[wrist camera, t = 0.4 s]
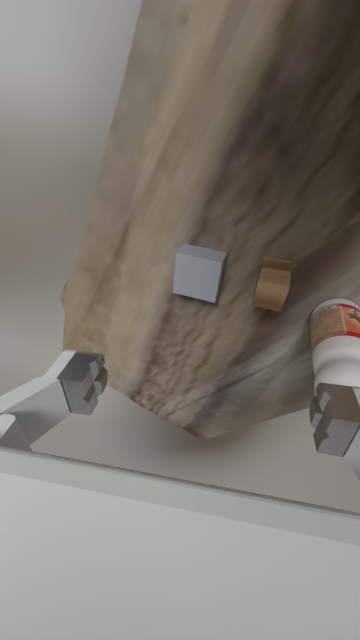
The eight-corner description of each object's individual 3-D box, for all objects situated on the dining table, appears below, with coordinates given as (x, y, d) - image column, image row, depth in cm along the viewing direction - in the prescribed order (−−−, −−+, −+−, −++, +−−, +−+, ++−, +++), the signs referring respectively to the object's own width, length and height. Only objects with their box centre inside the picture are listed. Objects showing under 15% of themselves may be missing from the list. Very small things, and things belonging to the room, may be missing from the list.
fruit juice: (312, 295, 58) (318, 411, 36) (368, 297, 54) (411, 425, 33) (308, 334, 63) (311, 455, 41) (359, 337, 60) (391, 471, 38)
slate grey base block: (183, 242, 60) (175, 252, 56) (227, 252, 58) (222, 262, 54) (180, 281, 66) (172, 292, 62) (220, 290, 64) (214, 303, 60)
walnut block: (264, 255, 56) (258, 280, 48) (291, 261, 55) (290, 287, 47) (258, 278, 59) (251, 305, 51) (283, 284, 58) (280, 312, 50)
